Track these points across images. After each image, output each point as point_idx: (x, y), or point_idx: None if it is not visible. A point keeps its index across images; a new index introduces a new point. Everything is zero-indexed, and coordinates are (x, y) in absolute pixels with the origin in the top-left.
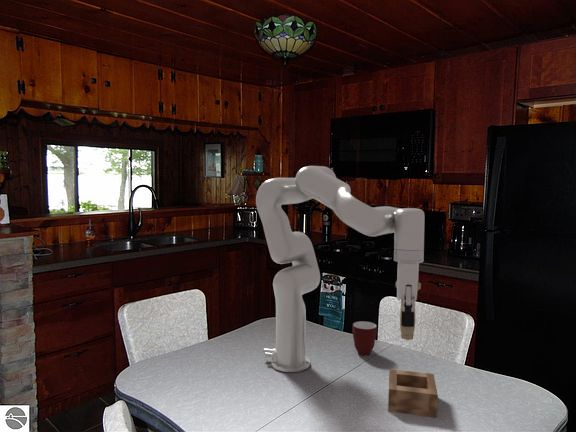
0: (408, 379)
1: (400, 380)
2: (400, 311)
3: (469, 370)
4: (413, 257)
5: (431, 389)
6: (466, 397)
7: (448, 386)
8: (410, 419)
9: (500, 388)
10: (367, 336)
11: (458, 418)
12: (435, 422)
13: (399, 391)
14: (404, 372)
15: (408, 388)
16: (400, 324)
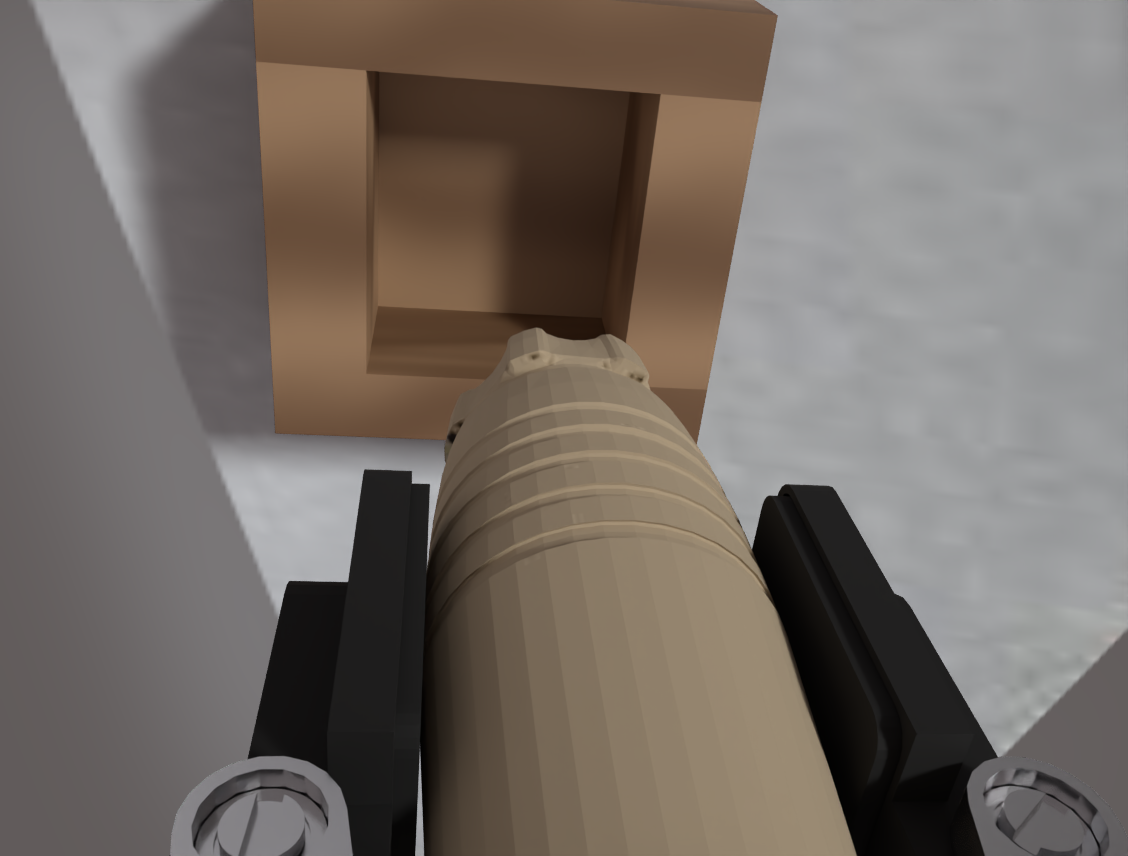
0: (637, 205)
1: (643, 120)
2: (604, 644)
3: (1060, 639)
4: None
5: (367, 396)
6: None
7: (808, 479)
8: (211, 135)
9: None
10: None
11: (338, 474)
12: (230, 320)
13: (261, 89)
14: (701, 184)
15: (326, 191)
16: (549, 437)
